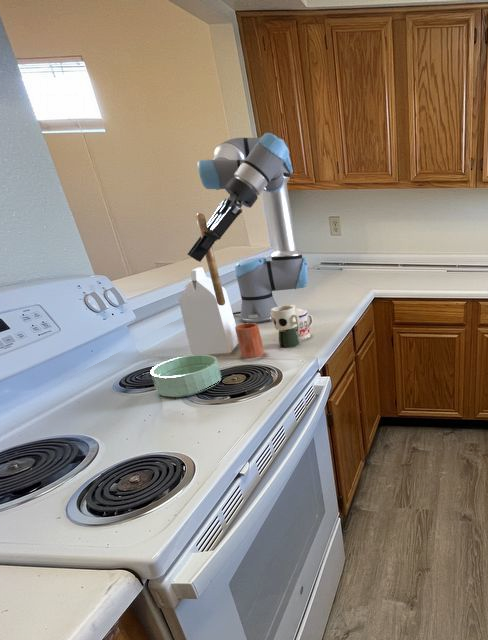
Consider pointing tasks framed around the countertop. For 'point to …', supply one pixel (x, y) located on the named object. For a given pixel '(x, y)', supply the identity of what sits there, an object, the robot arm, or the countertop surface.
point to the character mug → (285, 325)
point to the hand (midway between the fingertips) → (193, 258)
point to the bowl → (186, 375)
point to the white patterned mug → (302, 323)
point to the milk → (207, 317)
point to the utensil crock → (249, 340)
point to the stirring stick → (211, 262)
